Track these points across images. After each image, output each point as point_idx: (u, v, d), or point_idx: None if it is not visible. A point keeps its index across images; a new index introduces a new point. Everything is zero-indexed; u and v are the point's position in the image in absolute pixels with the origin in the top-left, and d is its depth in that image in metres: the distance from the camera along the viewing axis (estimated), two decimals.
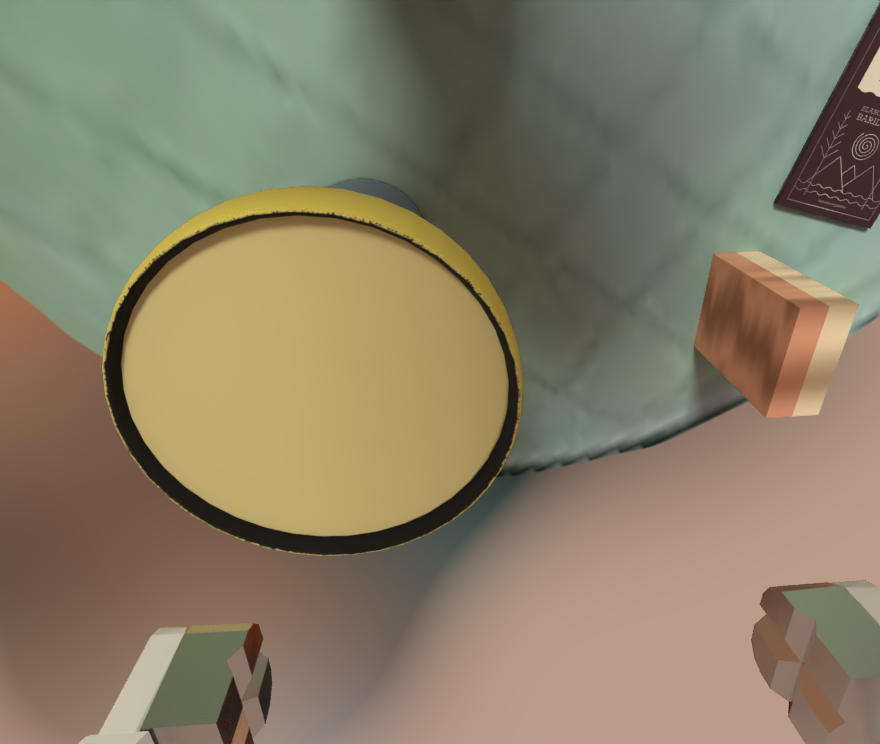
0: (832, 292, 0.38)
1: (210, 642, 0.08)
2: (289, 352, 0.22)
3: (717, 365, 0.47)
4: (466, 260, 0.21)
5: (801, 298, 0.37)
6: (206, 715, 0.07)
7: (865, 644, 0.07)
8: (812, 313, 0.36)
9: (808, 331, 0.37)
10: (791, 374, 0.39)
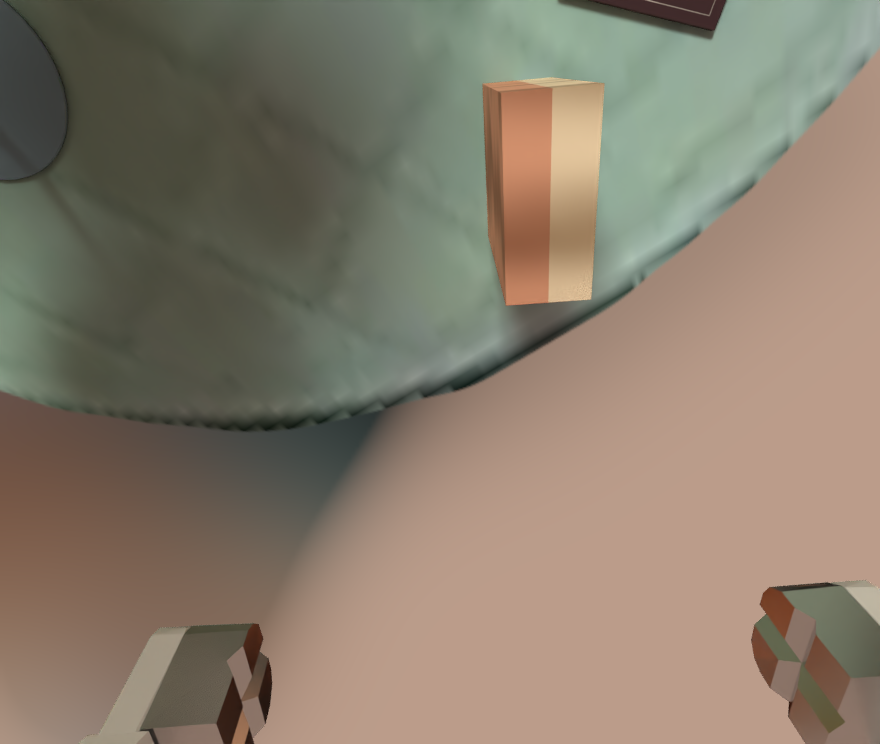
0: (584, 82, 0.23)
1: (210, 642, 0.08)
2: None
3: (493, 250, 0.32)
4: None
5: (523, 88, 0.22)
6: (206, 716, 0.07)
7: (865, 644, 0.07)
8: (525, 103, 0.21)
9: (529, 140, 0.22)
10: (523, 225, 0.23)
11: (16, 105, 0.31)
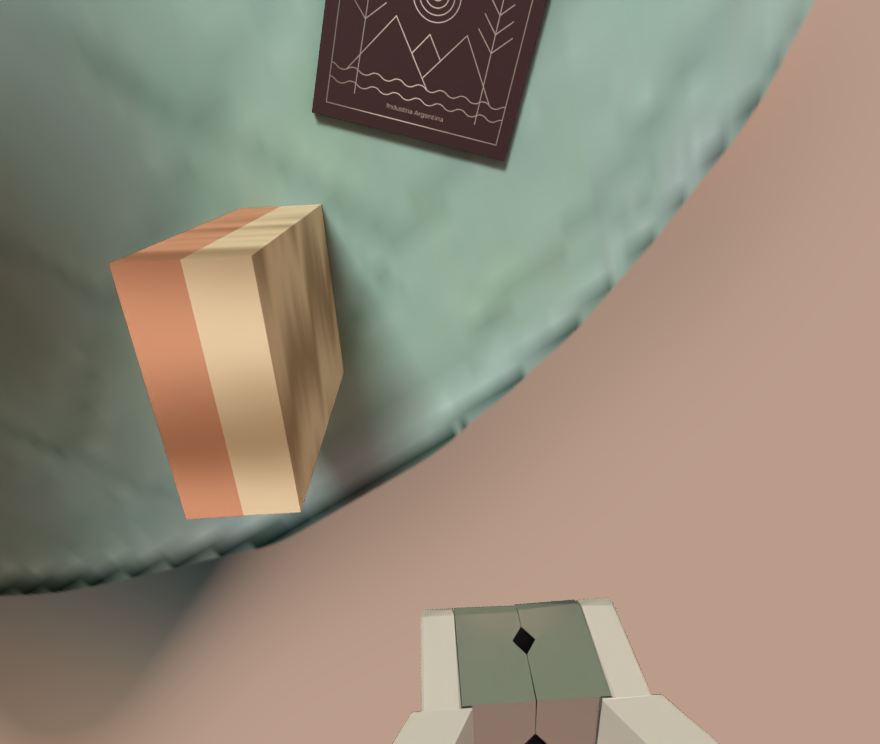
0: (264, 241, 0.17)
1: (485, 623, 0.08)
2: None
3: None
4: None
5: (169, 250, 0.16)
6: (520, 693, 0.07)
7: (569, 665, 0.07)
8: (147, 277, 0.15)
9: (164, 322, 0.16)
10: (185, 425, 0.17)
11: None
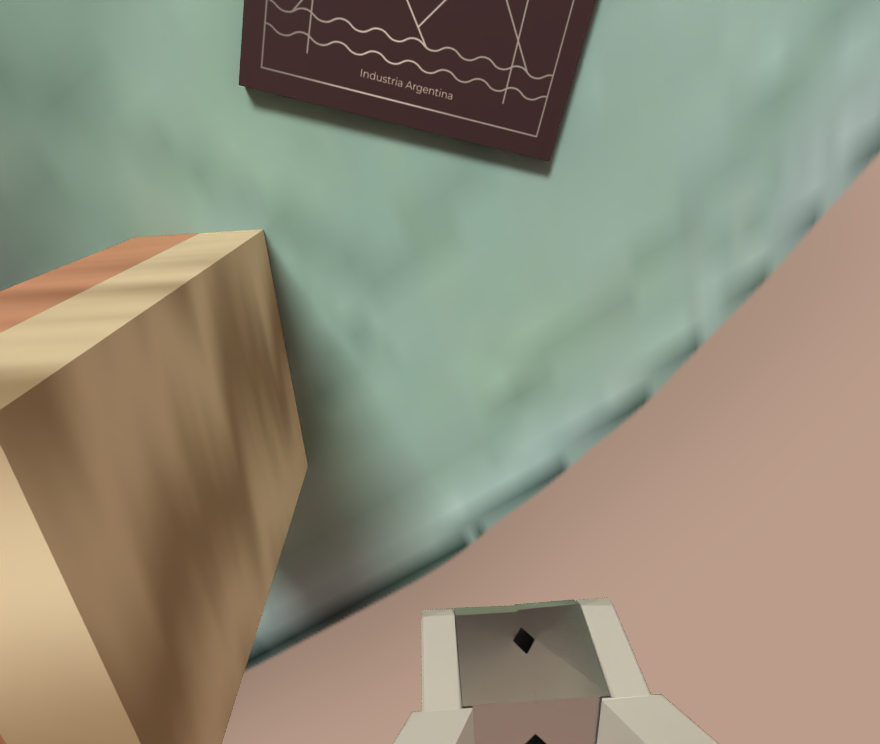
0: (82, 342, 0.08)
1: (485, 623, 0.08)
2: None
3: None
4: None
5: None
6: (521, 693, 0.07)
7: (569, 665, 0.07)
8: None
9: None
10: None
11: None
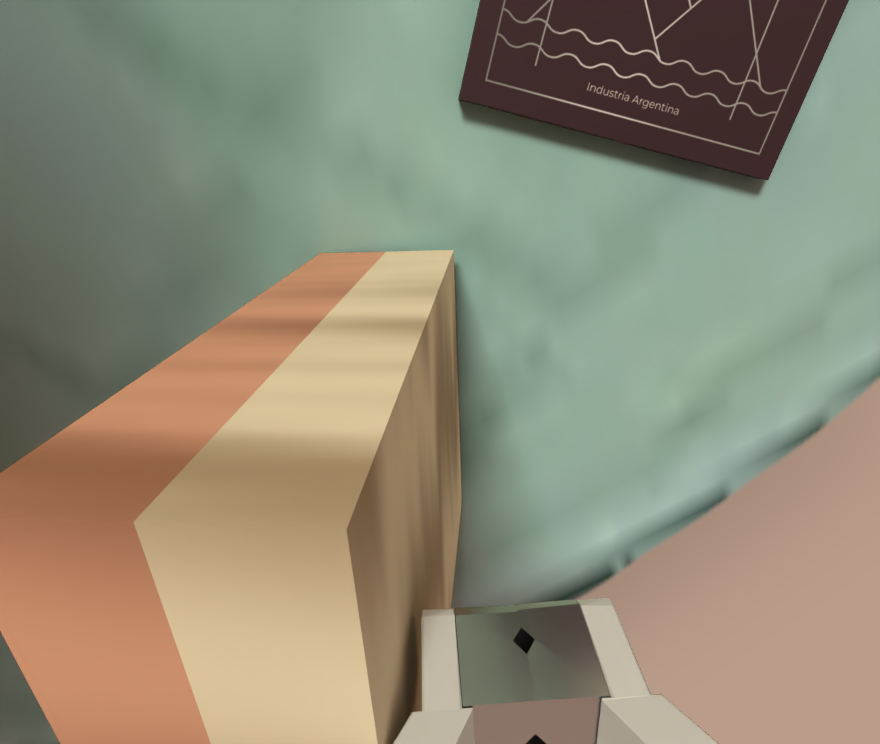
0: (375, 405, 0.07)
1: (485, 623, 0.08)
2: None
3: None
4: None
5: (140, 432, 0.06)
6: (521, 693, 0.07)
7: (568, 665, 0.07)
8: (46, 555, 0.05)
9: (102, 654, 0.06)
10: None
11: None
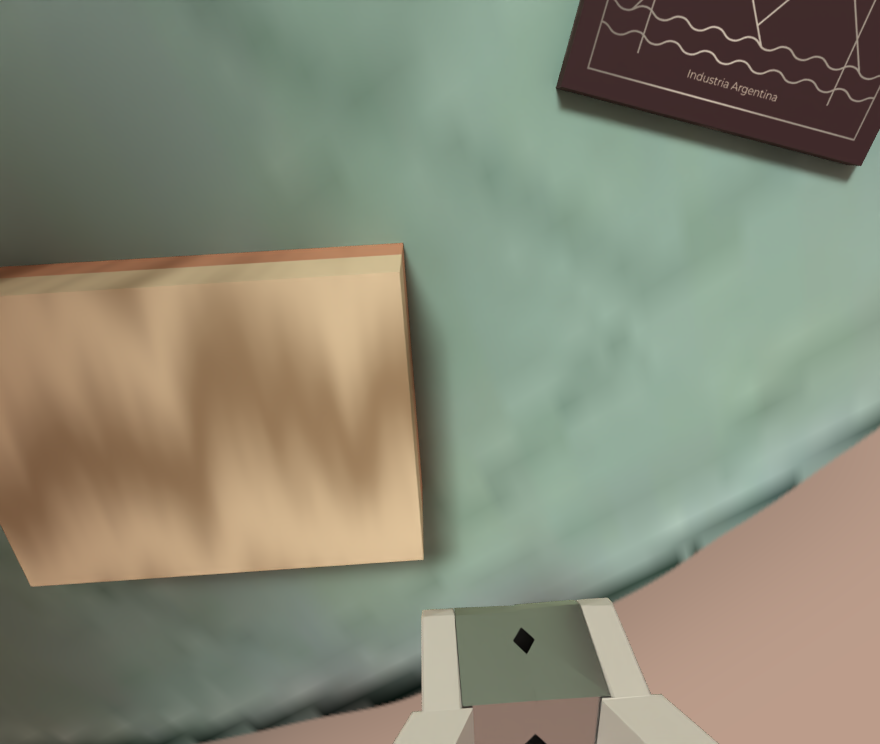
0: None
1: (485, 623, 0.08)
2: None
3: None
4: None
5: (38, 269, 0.15)
6: (521, 693, 0.07)
7: (569, 665, 0.07)
8: None
9: None
10: None
11: None
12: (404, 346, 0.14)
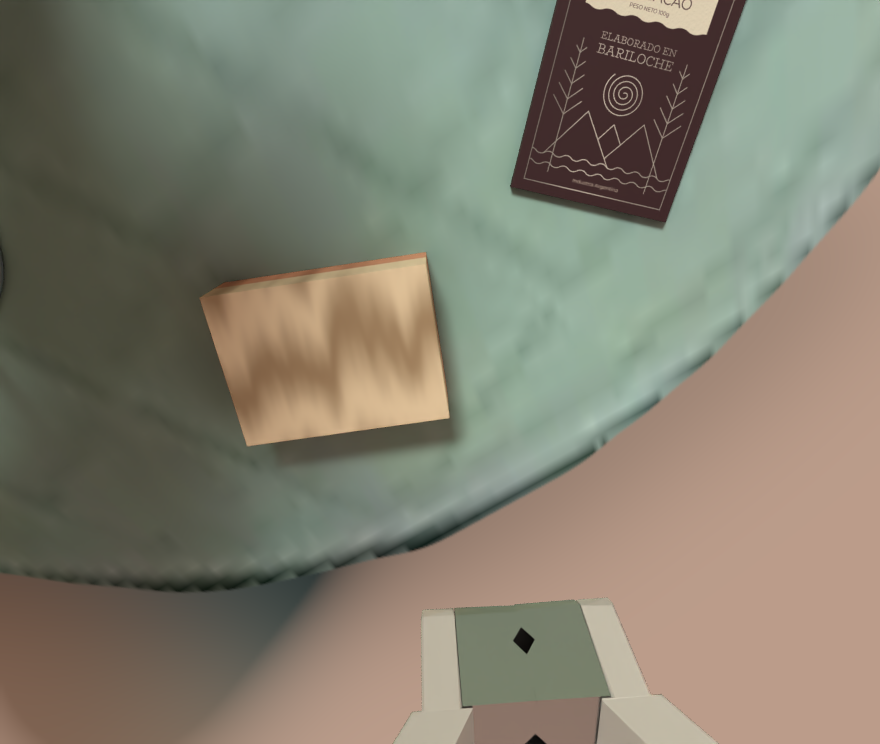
0: (244, 290, 0.28)
1: (485, 623, 0.08)
2: None
3: None
4: None
5: (246, 281, 0.31)
6: (521, 693, 0.07)
7: (568, 665, 0.07)
8: None
9: None
10: None
11: None
12: (430, 300, 0.28)
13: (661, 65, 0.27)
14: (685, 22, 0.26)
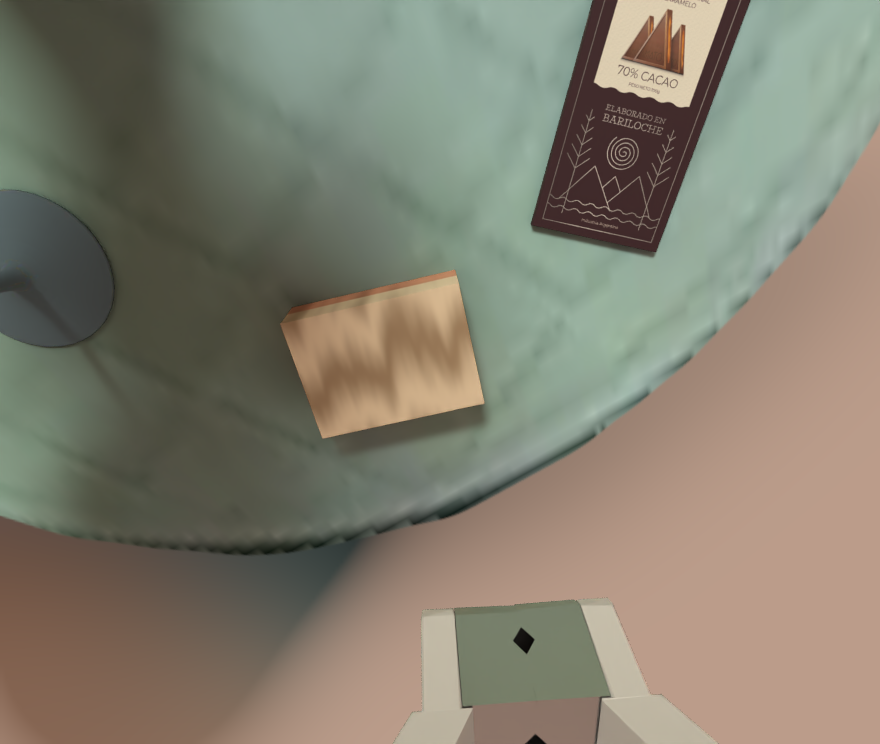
0: (314, 315, 0.35)
1: (485, 623, 0.08)
2: None
3: None
4: None
5: (311, 305, 0.38)
6: (521, 693, 0.07)
7: (569, 665, 0.07)
8: None
9: None
10: None
11: (70, 291, 0.36)
12: (464, 310, 0.35)
13: (653, 130, 0.34)
14: (672, 97, 0.33)
